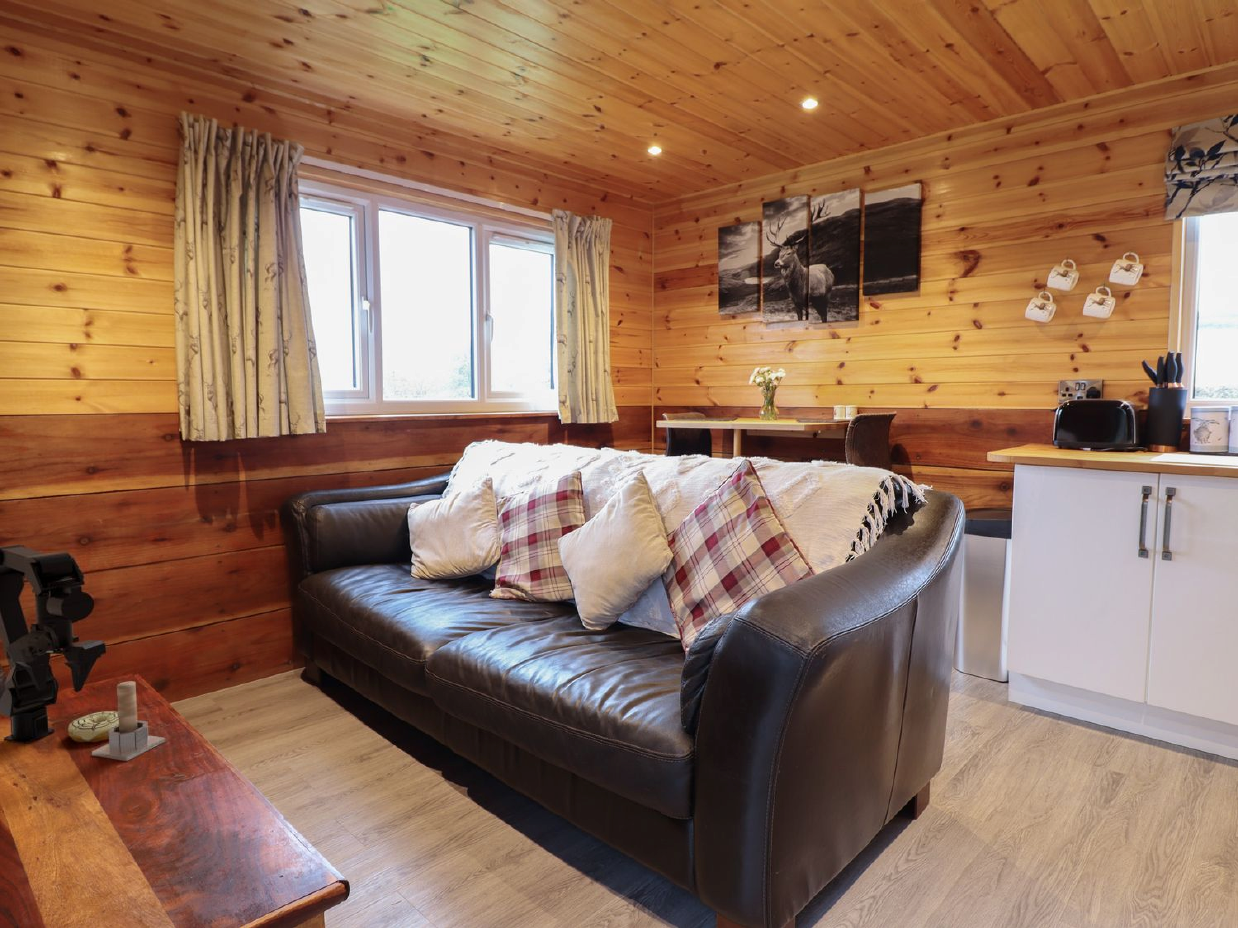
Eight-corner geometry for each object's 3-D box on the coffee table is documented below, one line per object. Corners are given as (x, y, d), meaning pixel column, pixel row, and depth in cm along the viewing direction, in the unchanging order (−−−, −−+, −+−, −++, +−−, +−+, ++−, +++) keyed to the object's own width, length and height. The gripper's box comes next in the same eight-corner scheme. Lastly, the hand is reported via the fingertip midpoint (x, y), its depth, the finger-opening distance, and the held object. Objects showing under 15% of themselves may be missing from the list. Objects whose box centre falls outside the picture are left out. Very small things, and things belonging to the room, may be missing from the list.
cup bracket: (92, 755, 149) (91, 733, 149) (131, 736, 158) (131, 716, 158) (126, 760, 147) (126, 739, 147) (165, 741, 156) (164, 720, 155)
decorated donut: (87, 749, 152) (86, 732, 152) (57, 739, 157) (56, 722, 156) (138, 730, 161) (137, 713, 161) (109, 720, 166) (108, 704, 166)
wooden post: (116, 748, 151) (113, 687, 149) (125, 740, 154) (122, 681, 153) (132, 747, 151) (130, 687, 150) (141, 740, 154) (138, 681, 153)
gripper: (-25, 624, 143) (-19, 703, 143) (53, 627, 139) (59, 707, 139) (32, 610, 153) (37, 683, 154) (105, 612, 150) (110, 687, 150)
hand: (59, 690), depth 149 cm, fingers open, 9 cm apart
